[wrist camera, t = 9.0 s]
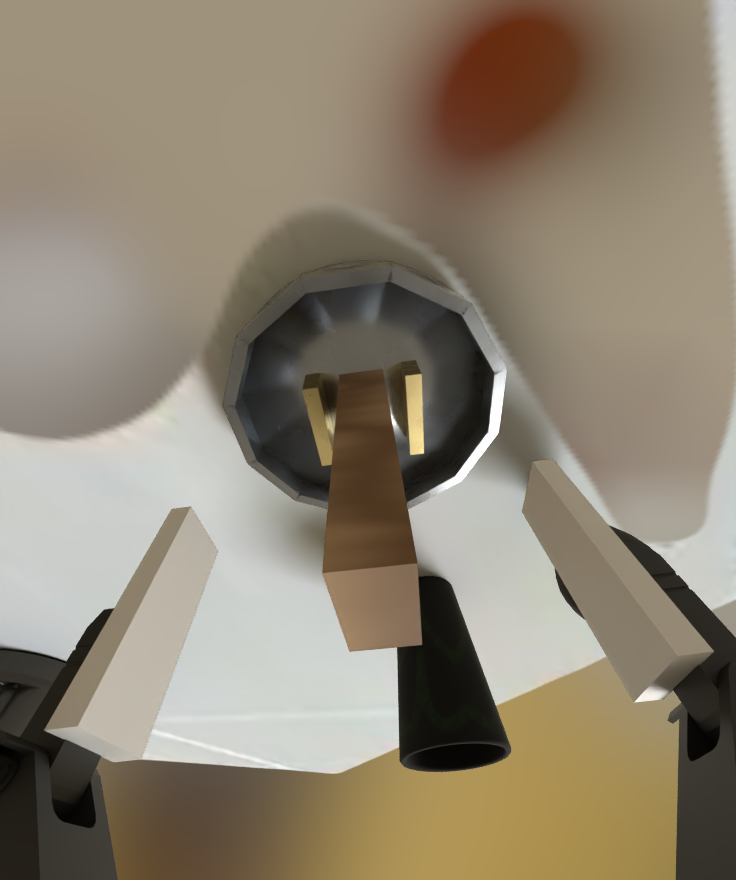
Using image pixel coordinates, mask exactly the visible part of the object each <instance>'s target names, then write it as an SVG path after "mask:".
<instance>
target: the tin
mask: <svg viewBox="0 0 736 880" xmlns="http://www.w3.org/2000/svg"><path fill="white" fill-rule="evenodd" d="M379 369H383V373H384V379H385V384H386V390H387V396H388V401H389V407H390V412H391V418H392V424H393V429H394V435H395V440H396V446H397V452H398V457H399V463H400V469H401V474H402V480H403V485H404V491H405V497H406V502H407V508H408V509H409V508H412V507H413V506H415V505H417V504H419V503H421V502H423V501H425V500H427V499H428V498H430V497H432V496H434V495H436V494H438V493H440V492H442V491H444V490H445V489H447V488H449V487H451V486H453V485H455V484H457V483H459V482H461V480H463V479H464V477H465V476H466V475H467V473H468V472H469V471H470V470H471V468H472V467H473V466H474V464H475V463H476V462H477V460H478V459H479V458H480V457H481V455H482V454H483V453H484V451H485V450H486V449H487V447H488V446H489V445H490V444H491V442H492V441H493V440H494V438H495V437H496V436H497V434H498V432H499V427H500V419H501V412H502V404H503V396H504V388H505V381H506V373H507V369H506V366H505V364H504V362H503V360H502V358H501V357H500V355H499V353H498V351H497V349H496V347H495V345H494V344H493V342H492V340H491V338H490V336H489V334H488V333H487V331H486V329H485V327H484V325H483V323H482V321H481V320H480V318H479V316H478V314H477V312H476V310H475V308H474V307H473V305H472V303H470V302H469V301H468V300H467V299H466V298H464V297H463V296H461V295H459V294H457V293H455V292H453V291H451V290H449V289H448V288H447V287H445V286H444V285H443V284H441V283H440V282H438V281H436V280H435V279H433V278H431V277H429V276H428V275H426V274H424V273H421V272H419V271H416V270H414V269H411V268H409V267H406V266H401V265H397V264H395V263H393V262H391V261H390V262H389V261H384V262H377V261H354V262H344V263H340V264H335V265H330V266H326V267H323V268H321V269H318V270H315V271H313V272H308V273H304V274H302V275H301V276H300V277H298V278H297V279H296V280H295V281H293V282H291V283H290V284H288V285H287V286H286V287H284V288H283V289H282V290H281V291H279V292H278V293H277V294H276V295H274V296H273V297H272V298H271V300H270V301H269V302H268V303H267V304H266V305H265V306H264V307H263V308H262V309H261V310H260V312H259V313H258V314H257V315H256V317H255V318H254V319H252V320H251V321H250V322H249V323H248V324H247V325H246V326H245V327H244V328H243V329H242V330H241V331H240V333H239V334H238V335H237V336H236V341H235V346H234V351H233V356H232V361H231V366H230V371H229V376H228V381H227V386H226V391H225V396H224V401H223V408H224V411H225V413H226V415H227V418H228V420H229V422H230V424H231V427H232V429H233V431H234V434H235V436H236V438H237V441H238V443H239V445H240V448H241V450H242V452H243V455H244V457H245V459H246V461H247V463H248V465H250V466H251V467H252V468H254V469H255V470H256V471H257V472H259V473H260V474H261V475H263V476H264V477H265V478H266V479H268V480H269V481H270V482H272V483H273V484H274V485H275V486H277V487H278V488H279V489H281V490H282V491H283V492H284V493H286V494H287V495H288V496H290V497H291V498H292V499H293V500H295V501H298V502H302V503H306V504H310V505H314V506H318V507H322V508H326V509H328V500H329V489H330V477H331V465H332V453H333V441H334V430H335V418H336V406H337V394H338V382H339V375H340V374H348V373H356V372H364V371H371V370H379Z"/></svg>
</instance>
